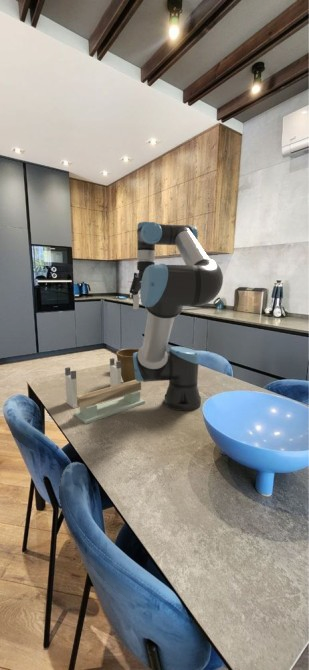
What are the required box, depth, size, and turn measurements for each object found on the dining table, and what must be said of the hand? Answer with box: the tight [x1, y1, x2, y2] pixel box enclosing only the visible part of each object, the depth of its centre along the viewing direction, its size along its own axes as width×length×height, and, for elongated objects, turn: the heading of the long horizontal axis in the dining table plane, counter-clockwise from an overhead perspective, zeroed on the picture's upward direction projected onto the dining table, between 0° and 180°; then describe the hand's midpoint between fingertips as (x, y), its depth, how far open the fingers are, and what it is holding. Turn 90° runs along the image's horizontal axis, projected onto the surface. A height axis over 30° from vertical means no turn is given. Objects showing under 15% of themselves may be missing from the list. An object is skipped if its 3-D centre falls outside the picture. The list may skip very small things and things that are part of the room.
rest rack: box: [73, 390, 146, 425], centre depth 111 cm, size 9×27×5 cm, turn 131°
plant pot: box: [116, 348, 140, 383], centre depth 136 cm, size 15×15×16 cm
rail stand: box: [64, 357, 122, 409], centre depth 120 cm, size 7×23×15 cm, turn 131°
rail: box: [77, 380, 142, 409], centre depth 110 cm, size 4×27×4 cm, turn 131°
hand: (145, 310), depth 125 cm, fingers open, 13 cm apart
